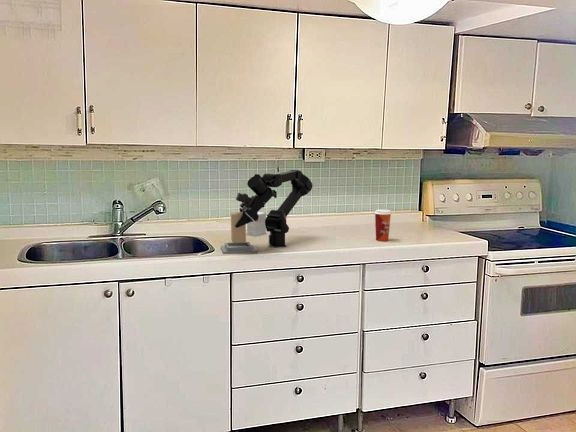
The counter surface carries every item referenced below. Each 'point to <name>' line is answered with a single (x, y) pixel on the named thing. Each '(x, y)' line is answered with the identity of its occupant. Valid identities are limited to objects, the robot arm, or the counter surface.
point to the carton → (237, 233)
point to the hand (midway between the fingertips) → (235, 225)
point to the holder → (238, 248)
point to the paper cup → (382, 224)
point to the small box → (257, 226)
